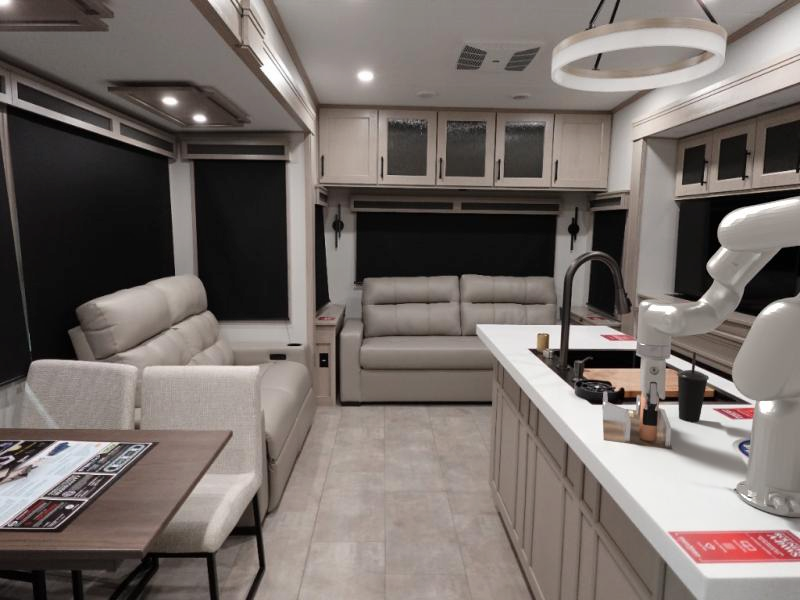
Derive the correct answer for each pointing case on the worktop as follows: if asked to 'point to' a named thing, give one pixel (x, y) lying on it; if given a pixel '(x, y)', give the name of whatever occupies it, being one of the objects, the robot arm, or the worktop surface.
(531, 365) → the worktop surface
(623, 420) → the bent rails
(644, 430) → the peg
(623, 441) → the channel board
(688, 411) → the drinking cup
